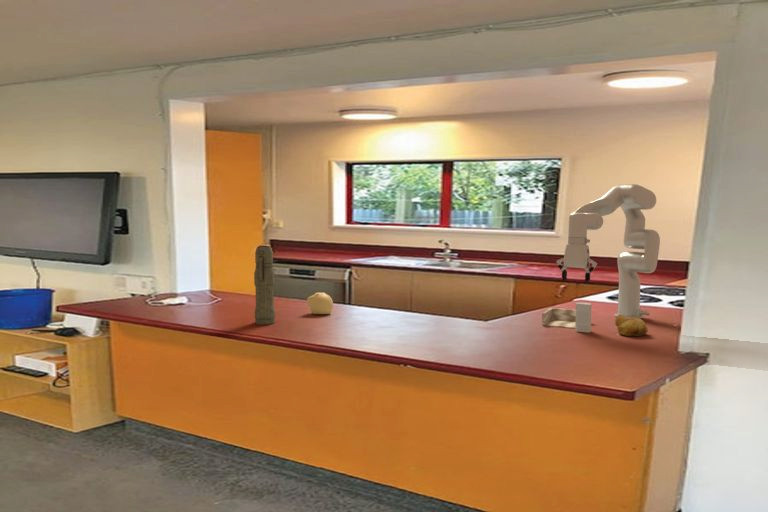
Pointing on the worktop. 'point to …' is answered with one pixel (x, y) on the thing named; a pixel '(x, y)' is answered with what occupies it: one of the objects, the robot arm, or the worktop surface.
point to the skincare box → (583, 317)
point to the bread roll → (630, 326)
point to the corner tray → (559, 318)
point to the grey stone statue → (264, 286)
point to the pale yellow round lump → (320, 303)
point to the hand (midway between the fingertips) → (575, 281)
